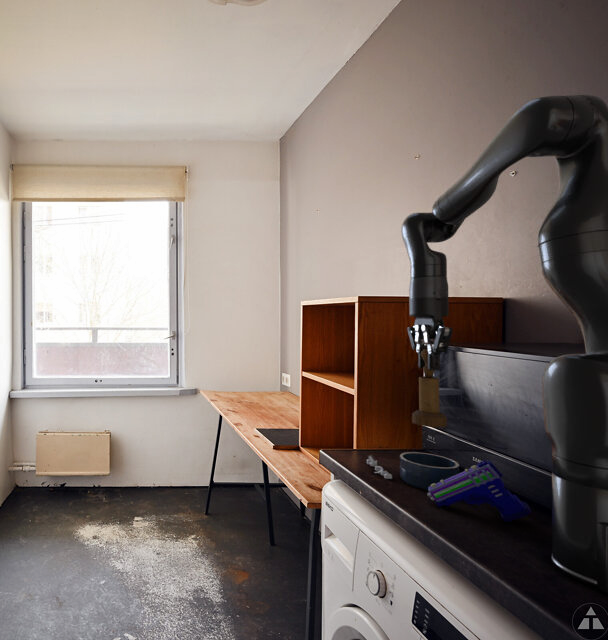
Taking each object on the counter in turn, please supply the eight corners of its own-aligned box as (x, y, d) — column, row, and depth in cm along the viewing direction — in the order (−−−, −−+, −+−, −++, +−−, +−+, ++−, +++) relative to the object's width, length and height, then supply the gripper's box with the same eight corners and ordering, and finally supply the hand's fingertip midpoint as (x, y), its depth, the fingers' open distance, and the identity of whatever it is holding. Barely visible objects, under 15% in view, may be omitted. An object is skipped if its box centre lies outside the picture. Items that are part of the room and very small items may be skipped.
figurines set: (393, 479, 99) (393, 467, 99) (380, 478, 99) (380, 467, 99) (372, 462, 111) (372, 452, 111) (361, 462, 111) (361, 451, 111)
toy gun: (534, 512, 75) (489, 462, 79) (461, 539, 82) (422, 492, 85) (530, 504, 79) (487, 456, 82) (460, 530, 85) (423, 485, 89)
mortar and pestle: (435, 421, 100) (435, 347, 100) (453, 428, 94) (453, 349, 94) (406, 420, 101) (406, 347, 101) (422, 427, 95) (422, 349, 95)
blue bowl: (471, 494, 91) (471, 469, 91) (417, 492, 92) (417, 467, 92) (438, 475, 102) (438, 452, 102) (390, 473, 103) (390, 451, 103)
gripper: (395, 298, 105) (395, 366, 105) (430, 294, 91) (430, 372, 91) (426, 298, 104) (427, 366, 104) (466, 294, 90) (467, 373, 90)
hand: (429, 369), depth 97 cm, fingers closed on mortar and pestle, 3 cm apart
